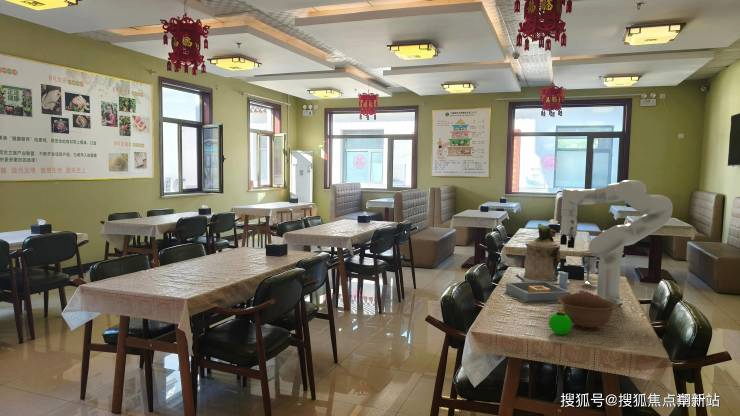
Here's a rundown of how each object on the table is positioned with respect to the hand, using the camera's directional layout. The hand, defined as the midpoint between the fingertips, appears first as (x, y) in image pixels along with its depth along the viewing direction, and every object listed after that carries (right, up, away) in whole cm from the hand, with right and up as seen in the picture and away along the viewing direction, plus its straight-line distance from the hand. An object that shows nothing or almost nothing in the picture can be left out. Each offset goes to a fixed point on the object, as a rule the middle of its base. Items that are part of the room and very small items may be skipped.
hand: (567, 246), depth 255 cm
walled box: (-19, -24, -9) cm, 32 cm away
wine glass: (+21, -22, +24) cm, 39 cm away
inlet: (-16, -24, -6) cm, 29 cm away
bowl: (-16, -28, -58) cm, 67 cm away
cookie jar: (-3, -22, +30) cm, 37 cm away
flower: (-6, -27, -37) cm, 46 cm away
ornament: (-29, -28, -67) cm, 78 cm away
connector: (-2, -24, 0) cm, 24 cm away
